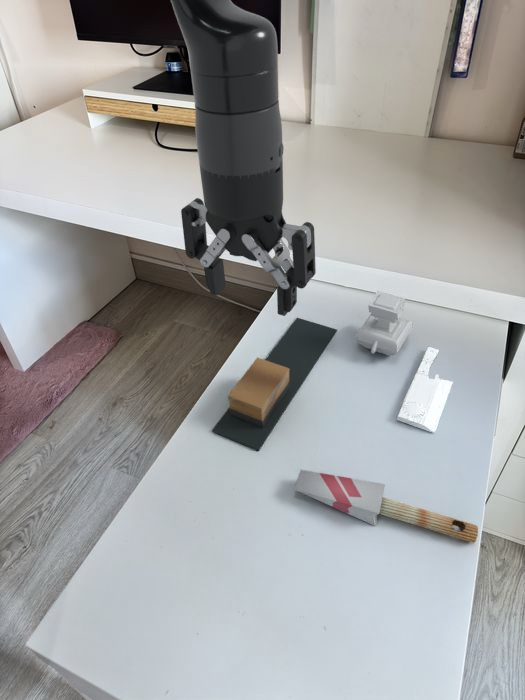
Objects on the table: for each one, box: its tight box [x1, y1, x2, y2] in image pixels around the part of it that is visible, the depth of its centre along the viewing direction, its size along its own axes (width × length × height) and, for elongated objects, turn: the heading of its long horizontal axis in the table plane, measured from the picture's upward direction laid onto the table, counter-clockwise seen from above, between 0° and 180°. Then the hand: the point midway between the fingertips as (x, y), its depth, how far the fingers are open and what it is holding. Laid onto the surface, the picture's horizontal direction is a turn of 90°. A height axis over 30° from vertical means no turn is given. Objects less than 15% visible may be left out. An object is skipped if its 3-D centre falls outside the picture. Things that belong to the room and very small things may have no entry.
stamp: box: [354, 290, 413, 357], centre depth 75 cm, size 9×7×8 cm
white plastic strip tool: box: [396, 346, 454, 434], centre depth 70 cm, size 5×15×1 cm, turn 151°
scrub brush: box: [227, 357, 289, 428], centre depth 68 cm, size 8×5×4 cm, turn 152°
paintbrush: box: [293, 469, 479, 544], centre depth 56 cm, size 4×3×20 cm
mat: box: [211, 317, 338, 452], centre depth 73 cm, size 26×7×1 cm, turn 151°
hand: (251, 301), depth 56 cm, fingers open, 8 cm apart
